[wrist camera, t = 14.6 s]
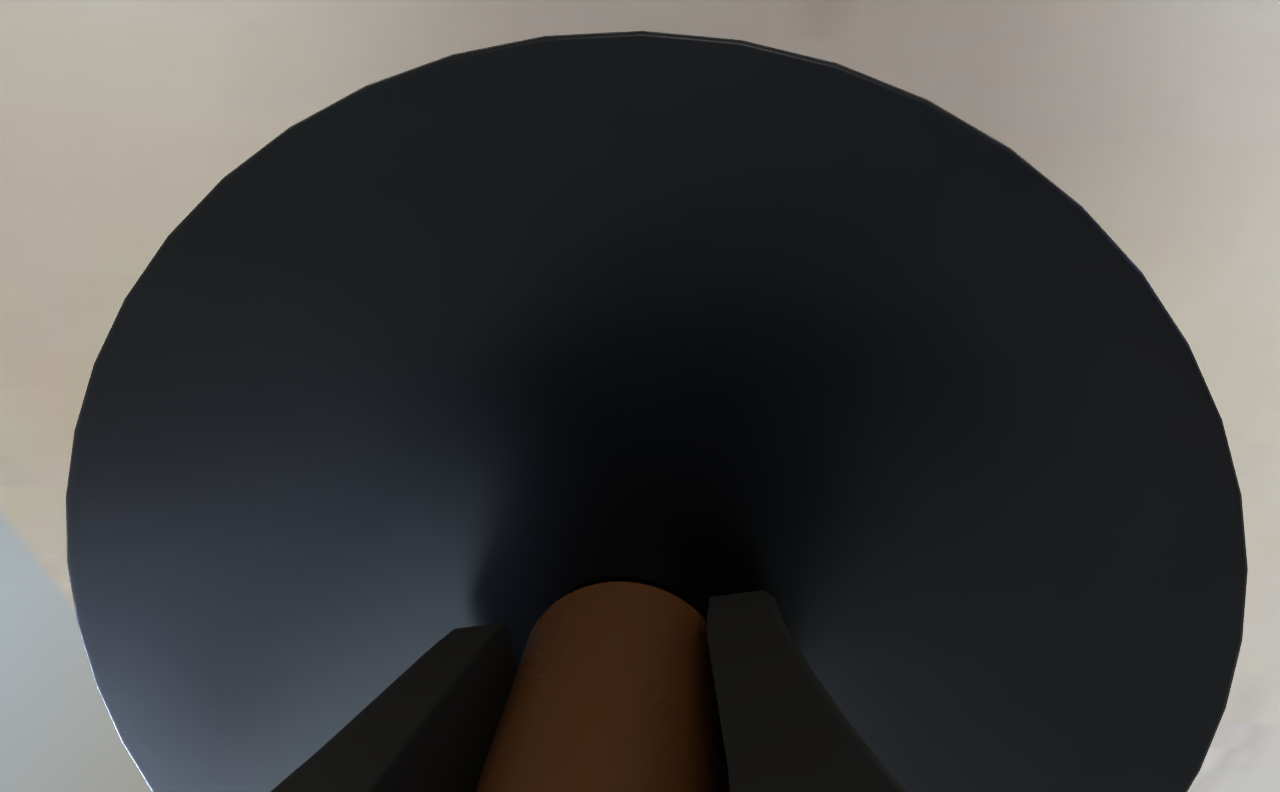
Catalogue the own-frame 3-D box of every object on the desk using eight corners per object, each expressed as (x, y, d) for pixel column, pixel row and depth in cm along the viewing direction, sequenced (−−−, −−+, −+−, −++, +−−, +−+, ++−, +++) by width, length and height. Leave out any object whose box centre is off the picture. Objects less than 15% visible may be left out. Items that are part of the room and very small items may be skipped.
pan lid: (1399, 163, 8) (2332, 184, 3) (989, 1053, 12) (1158, 1576, 8) (93, -54, 8) (-655, -303, 4) (152, 893, 12) (-153, 1309, 8)
